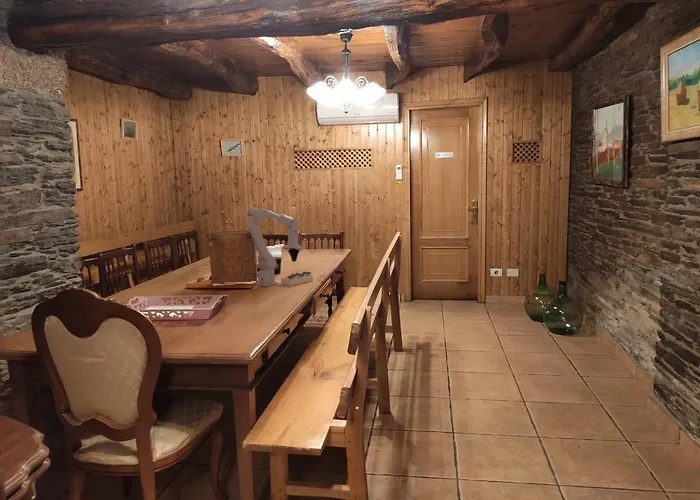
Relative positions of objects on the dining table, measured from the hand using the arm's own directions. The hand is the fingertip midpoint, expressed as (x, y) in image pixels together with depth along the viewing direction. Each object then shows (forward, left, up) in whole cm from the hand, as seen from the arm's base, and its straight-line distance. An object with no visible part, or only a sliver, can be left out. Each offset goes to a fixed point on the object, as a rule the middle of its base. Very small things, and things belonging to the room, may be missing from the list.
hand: (294, 261), depth 304 cm
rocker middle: (-8, -9, -6) cm, 13 cm away
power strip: (-8, -7, -10) cm, 15 cm away
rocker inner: (-13, -7, -6) cm, 16 cm away
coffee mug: (+8, +22, -11) cm, 26 cm away
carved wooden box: (-24, +25, -11) cm, 36 cm away
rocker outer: (-3, -10, -6) cm, 12 cm away
